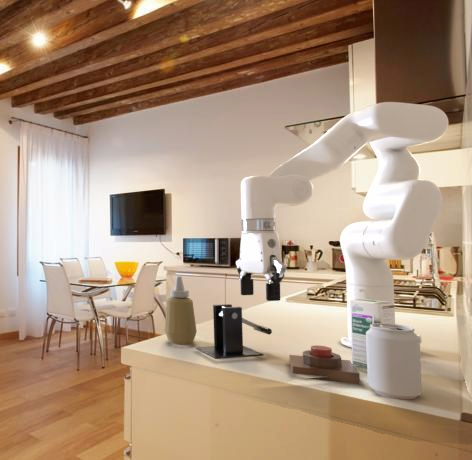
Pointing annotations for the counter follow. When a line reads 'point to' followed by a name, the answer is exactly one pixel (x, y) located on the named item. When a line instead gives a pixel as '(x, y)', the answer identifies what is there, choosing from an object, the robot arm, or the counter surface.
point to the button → (321, 351)
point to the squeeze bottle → (180, 316)
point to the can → (393, 360)
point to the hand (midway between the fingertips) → (259, 297)
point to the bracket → (228, 334)
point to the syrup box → (367, 324)
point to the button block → (325, 368)
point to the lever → (252, 325)
